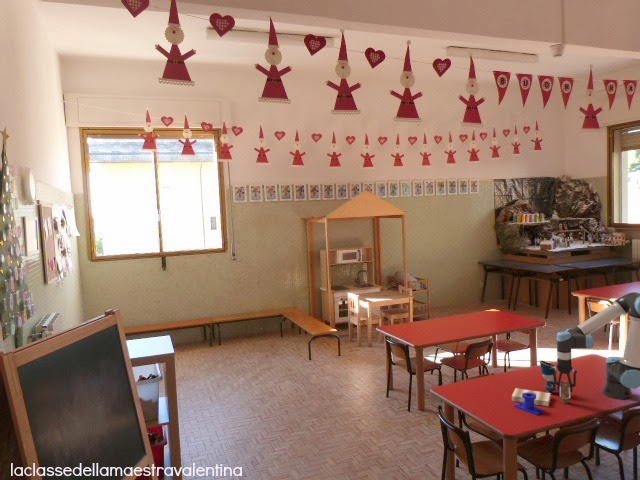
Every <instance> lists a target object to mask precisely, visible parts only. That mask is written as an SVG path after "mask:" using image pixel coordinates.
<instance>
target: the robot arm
mask: <svg viewBox="0 0 640 480" xmlns="http://www.w3.org/2000/svg"><path fill="white" fill-rule="evenodd" d="M627 314H628V318H629V320H630V321H629V325H628V331H627V336H626V342H625V348H624V352H623V356H608V357H606V361H605V369H606V370H605V371H606V372H605V373H606V376H605V378H606V380H605V383H604V385H603V388H602V393H603V395H604V396H606V397H609V398H613V399H615V400H616V399H617V400H629V399H630V400H631V399H632V398H633V391H632V390H633V389H634V390H635V389H638V388H640V292H635V291H634V292H633V291H632V292H629V293H626V294H624V295H622V296H620V297H618V298H617V299H615V300H613V302H612V304H611V305H609V306H606V308H604V309H602V310H601V311H599V312H598V313H596V314H594V315H593V316H592V317H591V316H590V317H589V318H588V319H586V320H585V321H583V322H581V323H580V324H578V325H576V327H572V328H570V327H569V328H568V329H566V330H565V331H558V332H557V333H556V357H557V358H556V363H557V365H556V366H555V367H552V370H553V375H554V380H553V382H554V384H555V386H556V387H557V391H558V392H559V398H561V381H562V377H563V375H566V377H567V380H568V381H567V382H569V399H571V393H573V391H574V390H573V388H575V387H576V386H577V373H578V370H577V369H574V368H573V367H572V365H573V364H572V349H592V348H594V343H595V341H594V338H593V336H592V335H591V334H592V333H594V332H596V331H598V330H599V329H600V328H602V327H604V326H605V325H607V324H609V323H610V322H612V321H613V320H615V319H617V318H618V317H620V316H622V315H624V316H625V315H627ZM557 370H558V372H559V376H558V381H557ZM571 372H572V373H573V380H572V379H571V374H570V373H571ZM572 381H573V382H572Z"/></svg>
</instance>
